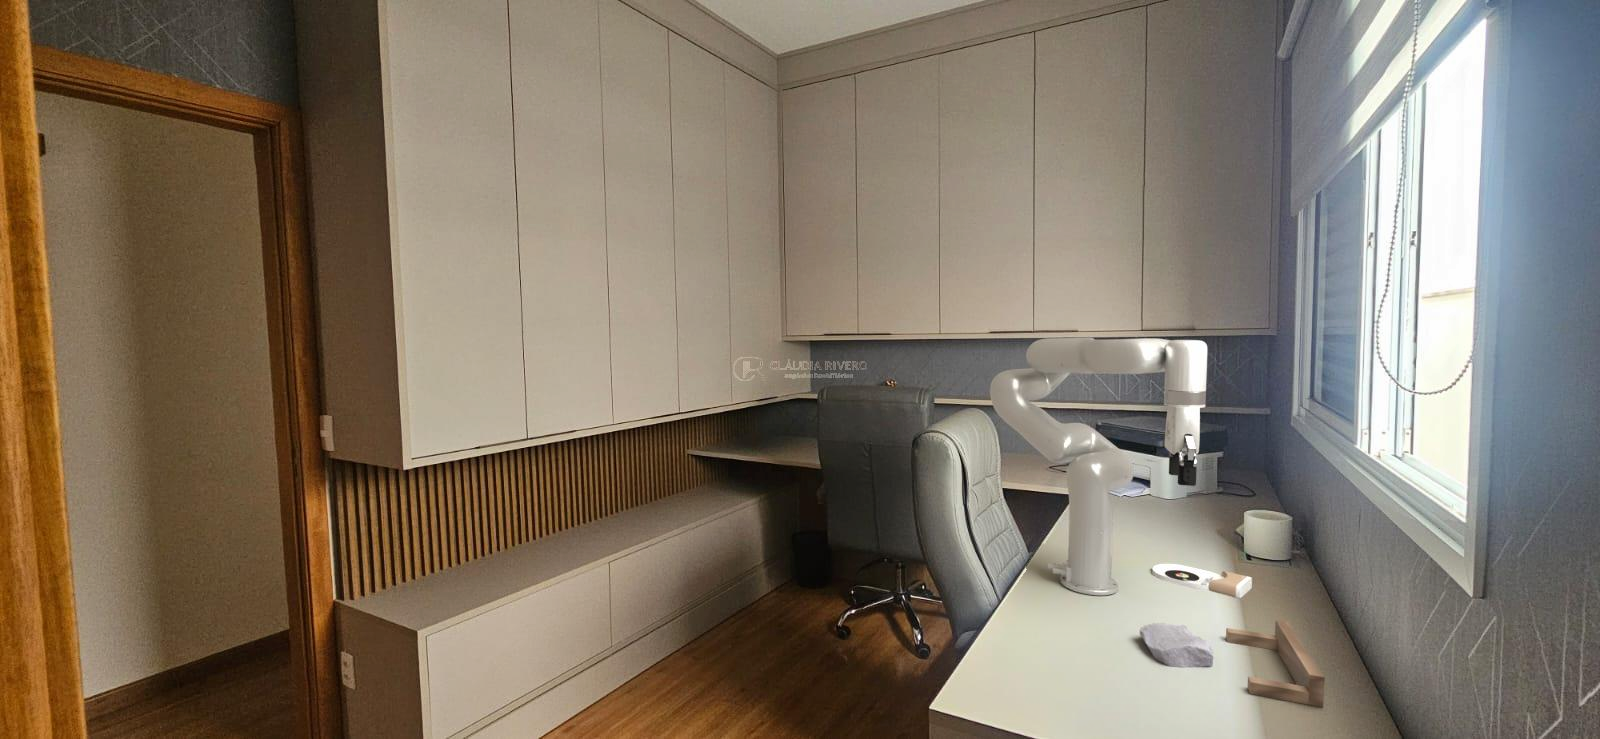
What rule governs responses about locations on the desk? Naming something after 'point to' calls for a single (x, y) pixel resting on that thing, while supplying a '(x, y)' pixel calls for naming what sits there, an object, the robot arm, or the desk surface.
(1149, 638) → the stone block
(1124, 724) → the desk surface
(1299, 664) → the walnut frame
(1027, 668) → the desk surface
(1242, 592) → the record player
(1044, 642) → the desk surface
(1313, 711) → the desk surface
